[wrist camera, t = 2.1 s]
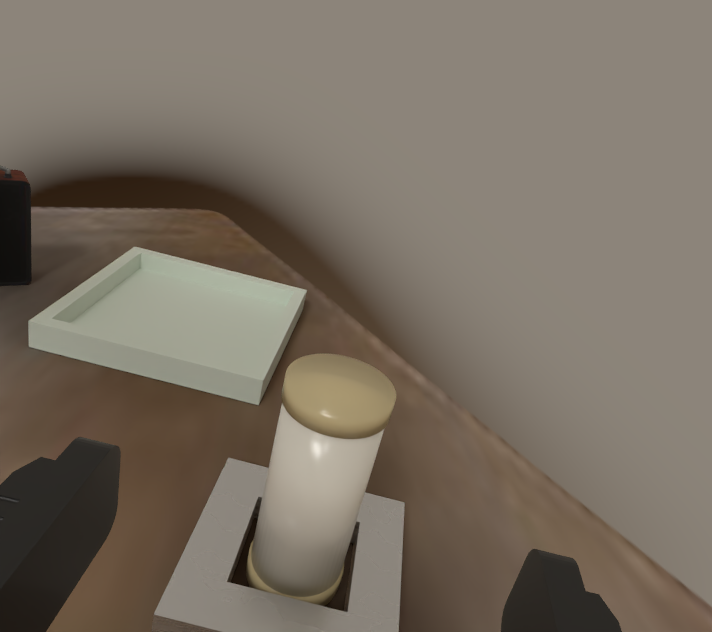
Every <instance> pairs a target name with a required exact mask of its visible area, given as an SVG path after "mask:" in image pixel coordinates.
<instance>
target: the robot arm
mask: <svg viewBox="0 0 712 632" xmlns="http://www.w3.org/2000/svg"><path fill="white" fill-rule="evenodd" d="M119 472H120V448H119V447H118V446H115V445H111V444H107V443H103V442H99V441H95V440H91V439H87V438H82V437H78V438H76V439H75V440H74V441H73V442H72V443H71V444H70V445H69V446H68V447H67V448H66V449H65V450H64V451H63V453H62V454H61V455H60V456H59V457H58V458H57V459H56V460H51V459H47V458H43V457H40V458H38V459H37V460H35V461H33V462H31V463H29V464H27V465H25V466H24V467H22V468H20V469H18V470H16V471H14V472H13V473H12V474H11V475H10V476H9V477H8V478H7V479H6V480H5V481H4V482H3V483H2V484H1V485H0V632H46V631H47V629H48V628H49V626H50V624H51V623H52V621H53V620H54V618H55V617H56V615H57V614H58V612H59V611H60V609H61V608H62V606H63V605H64V603H65V601H66V600H67V598H68V597H69V595H70V594H71V592H72V591H73V589H74V588H75V586H76V585H77V583H78V581H79V580H80V578H81V577H82V575H83V574H84V572H85V571H86V569H87V568H88V566H89V565H90V563H91V562H92V560H93V558H94V557H95V555H96V554H97V552H98V551H99V549H100V548H101V546H102V545H103V543H104V542H105V540H106V538H107V536H108V534H109V532H110V530H111V528H112V525H113V522H114V519H115V516H116V511H117V504H118V488H119ZM501 632H622V631H621V628H620V625H619V622H618V621H617V619H616V618H615V616H614V615H613V614H612V612H611V611H610V609H609V608H608V607H607V605H606V604H605V602H604V601H603V600H602V598H601V597H600V595H599V594H595V593H591V592H586V591H585V588H584V585H583V581H582V578H581V575H580V571H579V568H578V565H577V563H576V561H575V560H574V559H573V558H570V557H565V556H561V555H557V554H553V553H549V552H545V551H541V550H537V549H533V550H531V551H530V552H529V554H528V556H527V558H526V560H525V562H524V564H523V566H522V568H521V571H520V573H519V575H518V577H517V579H516V582H515V584H514V586H513V588H512V590H511V593H510V595H509V597H508V599H507V601H506V604H505V607H504V611H503V616H502V623H501Z"/></svg>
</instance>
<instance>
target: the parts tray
mask: <svg viewBox="0 0 712 632" xmlns="http://www.w3.org/2000/svg"><path fill="white" fill-rule="evenodd" d="M306 292H307V290H304V289H300V288H296V287H292V286H288V285H284V284H281V283H277V282H273V281H269V280H265V279H261V278H257V277H253V276H249V275H245V274H241V273H237V272H233V271H229V270H225V269H221V268H217V267H214V266H210V265H206V264H202V263H198V262H194V261H190V260H186V259H182V258H178V257H174V256H170V255H166V254H162V253H158V252H154V251H150V250H147V249H143V248H139V247H133V248H132V249H131V250H129V251H128V252H126V253H125V254H123V255H122V256H121V257H119V258H118V259H116V260H115V261H113V262H112V263H111V264H109V265H108V266H106V267H105V268H103V269H102V270H101V271H99V272H98V273H96V274H95V275H93V276H92V277H91V278H89V279H88V280H86V281H85V282H83V283H82V284H81V285H79V286H78V287H76V288H75V289H73V290H72V291H71V292H69V293H68V294H66V295H65V296H63V297H62V298H61V299H59V300H58V301H56V302H55V303H53V304H52V305H50V306H49V307H48V308H46V309H45V310H43V311H42V312H40V313H39V314H38V315H36V316H35V317H33V318H32V319H30V320H29V321H28V334H29V347H31V348H35V349H39V350H43V351H47V352H51V353H55V354H59V355H63V356H66V357H70V358H74V359H78V360H82V361H86V362H90V363H94V364H98V365H102V366H106V367H110V368H114V369H118V370H122V371H126V372H129V373H133V374H137V375H141V376H145V377H149V378H153V379H157V380H161V381H165V382H169V383H173V384H177V385H181V386H185V387H189V388H192V389H196V390H200V391H204V392H208V393H212V394H216V395H220V396H224V397H228V398H232V399H236V400H240V401H244V402H248V403H251V404H255V405H259V403H260V401H261V399H262V397H263V395H264V393H265V391H266V388H267V386H268V384H269V382H270V380H271V378H272V375H273V373H274V371H275V369H276V367H277V365H278V362H279V360H280V358H281V356H282V354H283V352H284V349H285V347H286V345H287V343H288V341H289V339H290V336H291V334H292V332H293V330H294V328H295V326H296V323H297V321H298V319H299V317H300V315H301V313H302V310H303V306H304V302H305V297H306Z"/></svg>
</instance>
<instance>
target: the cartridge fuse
mask: <svg viewBox="0 0 712 632" xmlns="http://www.w3.org/2000/svg"><path fill="white" fill-rule="evenodd" d="M281 399H282V406H281V411H280V415H279V420H278V425H277V430H276V435H275V439H274V444H273V449H272V454H271V459H270V463H269V468H268V473H267V478H266V483H265V487H264V492H263V497H262V502H261V507H260V511H259V516H258V521H257V526H256V531H255V535H254V539H253V541H252V543H251V545H250V549H249V554H248V559H247V564H246V577H247V581H248V584H249V586H250V588H254V589H258V590H261V591H265V592H269V593H273V594H277V595H281V596H285V597H289V598H293V599H297V600H301V601H305V602H309V603H313V604H316V605H320V606H325V605H327V604H328V603H329V602H330V601H331V600H332V599H333V597H334V596H335V594H336V592H337V590H338V587H339V584H340V581H341V577H342V574H343V570H344V560H345V557H346V554H347V550H348V547H349V544H350V540H351V537H352V534H353V531H354V527H355V524H356V521H357V517H358V514H359V511H360V507H361V504H362V501H363V498H364V494H365V491H366V488H367V484H368V481H369V478H370V474H371V471H372V468H373V465H374V461H375V458H376V455H377V451H378V448H379V445H380V441H381V438H382V435H383V432H384V428H385V427H386V426H387V425H388V423H389V420H390V417H391V414H392V410H393V407H394V404H395V400H396V391H395V388H394V386H393V384H392V383H391V381H390V380H389V379H388V378H387V377H386V376H385V375H384V374H383V373H382V372H380V371H379V370H378V369H376V368H374V367H373V366H371V365H369V364H367V363H365V362H362V361H360V360H357V359H354V358H351V357H347V356H342V355H336V354H312V355H307V356H303V357H301V358H298V359H297V360H295V361H294V362H292V363H291V364H290V365H289V367H288V368H287V371H286V374H285V379H284V384H283V389H282V395H281Z"/></svg>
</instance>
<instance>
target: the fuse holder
mask: <svg viewBox="0 0 712 632" xmlns="http://www.w3.org/2000/svg"><path fill="white" fill-rule="evenodd" d="M267 473H268V468H267V467H263V466H259V465H255V464H251V463H248V462H244V461H240V460H236V459H232V458H228V460H227V462H226V464H225V466H224V468H223V470H222V472H221V474H220V476H219V478H218V481H217V483H216V485H215V487H214V489H213V491H212V493H211V495H210V497H209V499H208V502H207V504H206V506H205V508H204V510H203V512H202V514H201V516H200V518H199V520H198V522H197V525H196V527H195V529H194V531H193V533H192V535H191V537H190V539H189V541H188V543H187V546H186V548H185V550H184V552H183V554H182V556H181V558H180V560H179V562H178V564H177V567H176V569H175V571H174V573H173V575H172V577H171V579H170V581H169V583H168V585H167V588H166V590H165V592H164V594H163V596H162V598H161V600H160V602H159V604H158V606H157V609H156V611H155V613H154V616H153V625H152V632H399V613H400V591H401V570H402V549H403V527H404V506H405V502H401V501H397V500H393V499H389V498H385V497H381V496H377V495H373V494H370V493H366V492H365V494H364V498H363V501H362V504H361V507H360V511H359V514H358V517H357V521H356V524H355V527H354V531H353V534H352V537H351V540H350V542H351V543H353V550H352V557H351V564H350V571H349V578H348V585H347V592H346V598H345V605H344V611H340V610H336V609H332V608H328V607H324V606H320V605H316V604H313V603H309V602H305V601H301V600H297V599H293V598H289V597H285V596H281V595H277V594H273V593H269V592H265V591H261V590H258V589H254V588H250V587H246V586H242V585H238V584H234V583H231V580H232V577H233V574H234V572H235V569H236V566H237V563H238V561H239V558H240V555H241V552H242V550H243V547H244V544H245V541H246V539H247V536H248V533H249V530H250V528H251V525H252V522H253V519H254V518H256V519H258V516H259V511H260V507H261V502H262V497H263V492H264V487H265V483H266V478H267Z"/></svg>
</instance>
